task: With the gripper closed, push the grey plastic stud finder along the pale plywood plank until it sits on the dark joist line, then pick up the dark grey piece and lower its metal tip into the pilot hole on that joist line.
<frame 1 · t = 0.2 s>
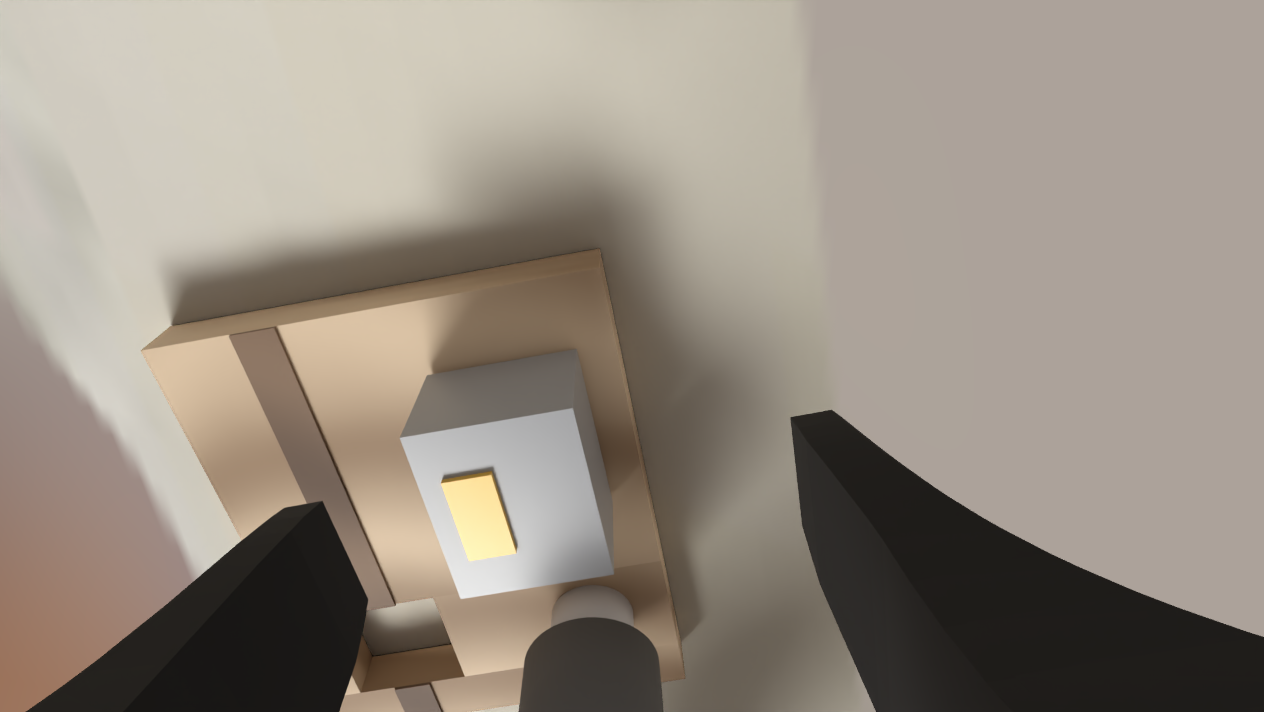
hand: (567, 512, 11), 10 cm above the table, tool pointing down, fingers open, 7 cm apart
stud finder: (518, 474, 19), point 3 cm above the table, slide at 0.0 cm
dark grey piece: (592, 615, 24), point 1 cm above the table, touching plank
plank: (459, 505, 24), on the table
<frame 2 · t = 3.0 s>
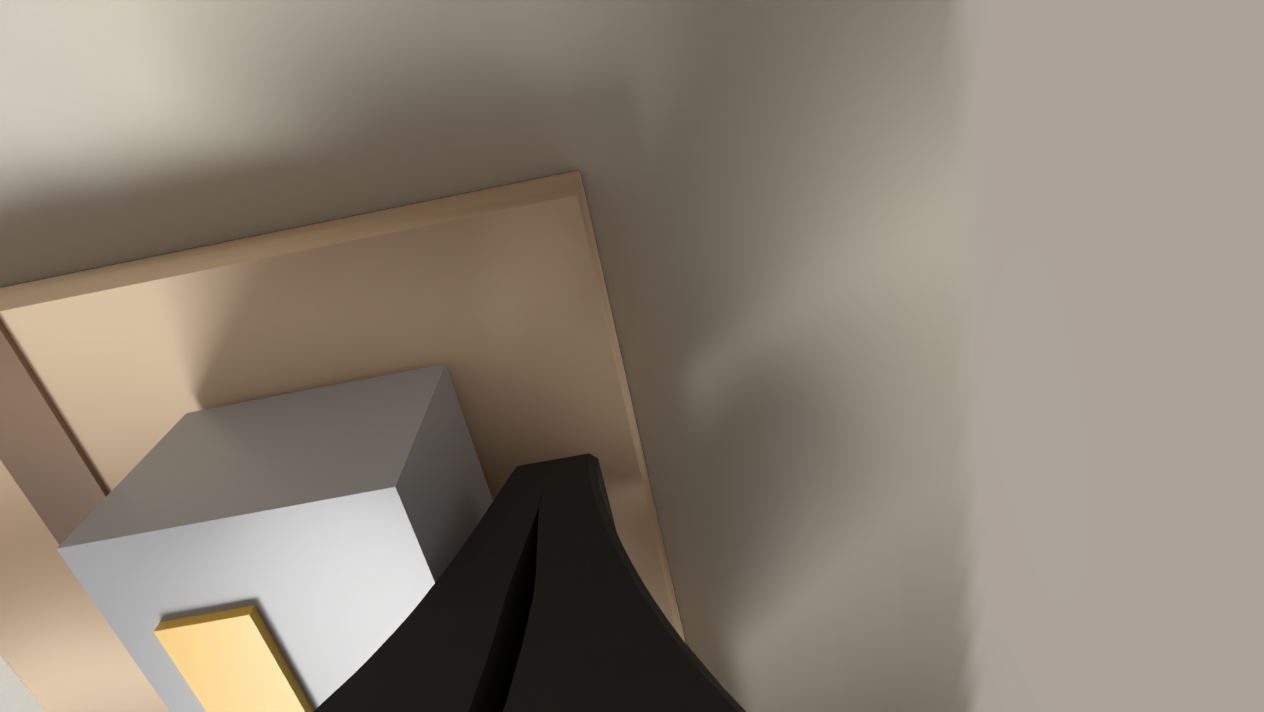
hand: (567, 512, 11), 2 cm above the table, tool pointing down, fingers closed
stud finder: (342, 590, 11), point 3 cm above the table, slide at 1.4 cm, touching gripper
plank: (371, 595, 15), on the table
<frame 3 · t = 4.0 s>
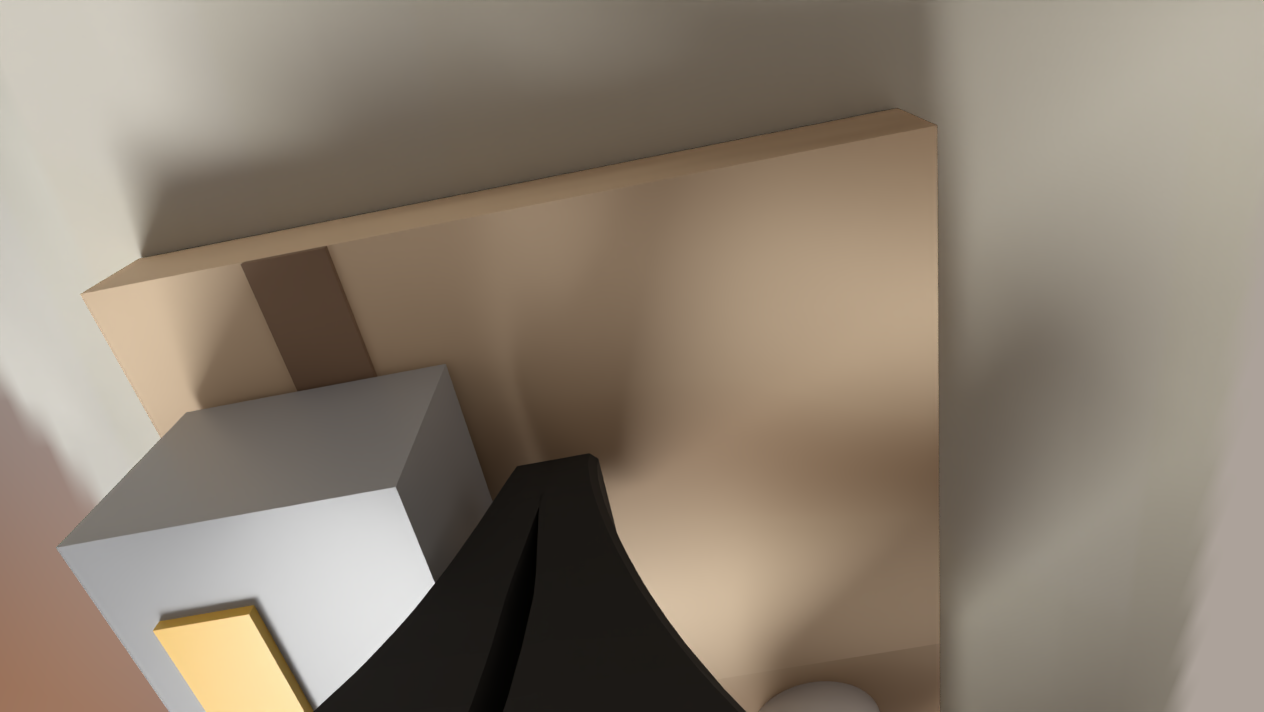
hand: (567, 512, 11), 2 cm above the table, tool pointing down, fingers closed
stud finder: (342, 589, 11), point 3 cm above the table, slide at 6.3 cm, touching gripper
plank: (605, 554, 15), on the table
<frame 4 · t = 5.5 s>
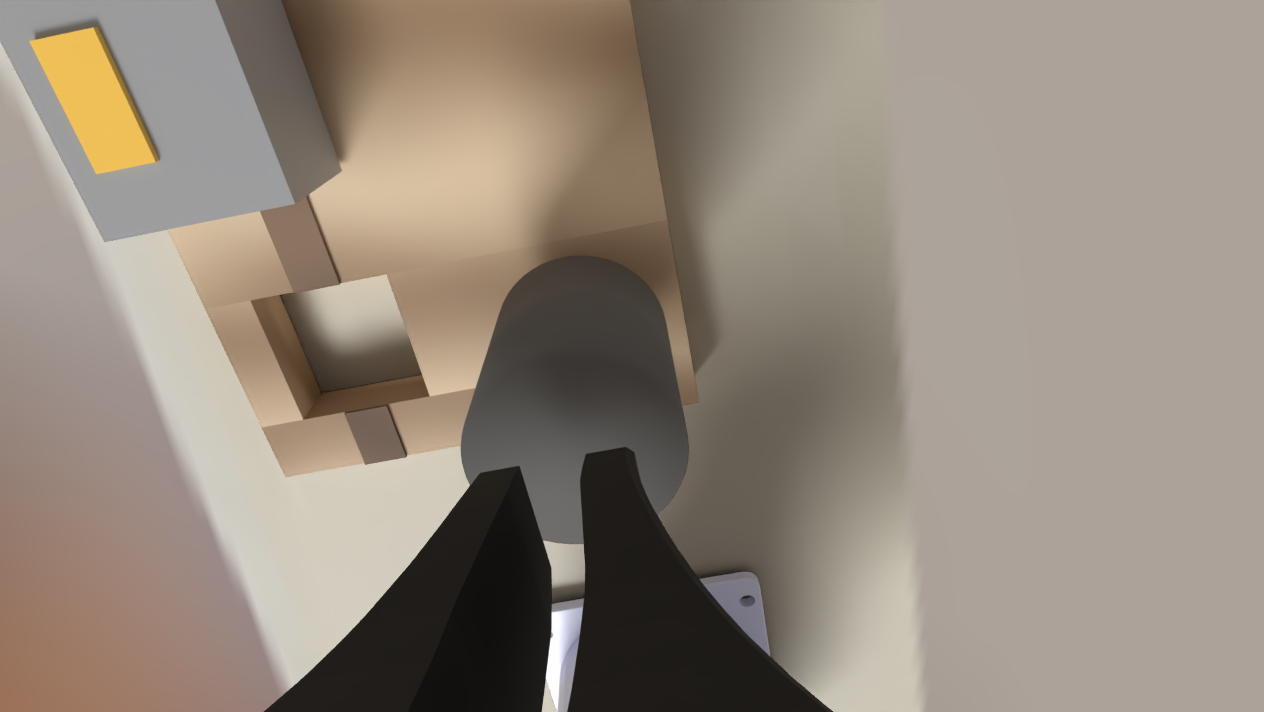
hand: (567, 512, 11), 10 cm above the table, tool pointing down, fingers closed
stud finder: (179, 85, 15), point 3 cm above the table, slide at 6.3 cm
dark grey piece: (584, 304, 20), point 1 cm above the table, touching plank
plank: (418, 165, 19), on the table
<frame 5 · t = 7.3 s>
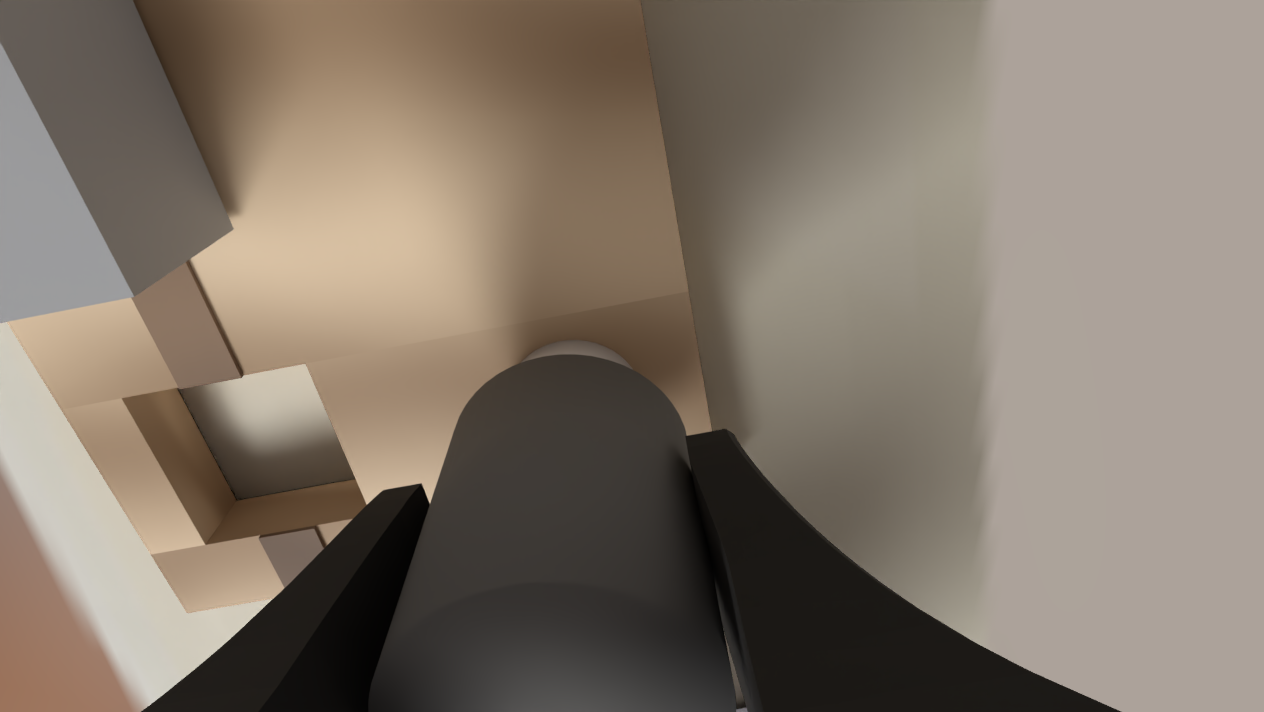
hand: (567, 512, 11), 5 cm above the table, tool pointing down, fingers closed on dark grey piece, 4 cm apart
dark grey piece: (574, 400, 15), point 2 cm above the table, touching gripper, plank
plank: (350, 214, 14), on the table
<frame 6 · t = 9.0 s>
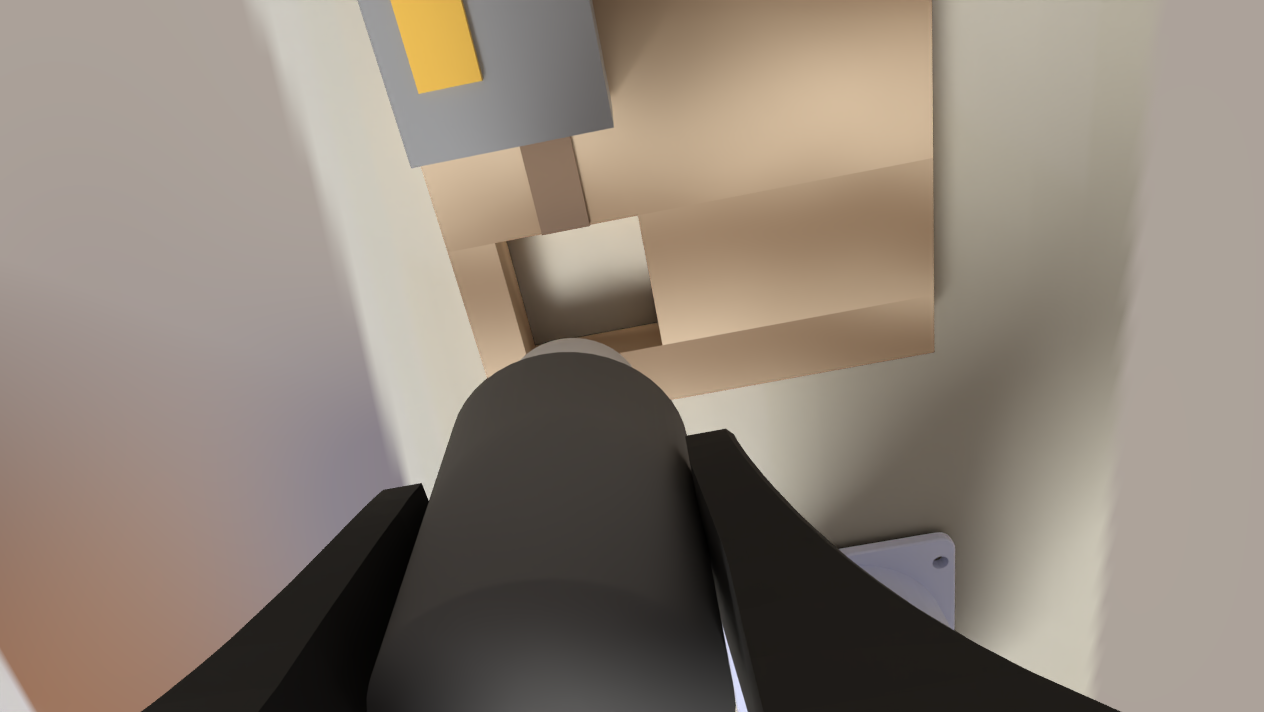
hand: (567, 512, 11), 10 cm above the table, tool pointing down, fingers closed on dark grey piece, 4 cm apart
stud finder: (486, 4, 15), point 3 cm above the table, slide at 6.3 cm
dark grey piece: (574, 399, 14), point 7 cm above the table, touching gripper
plank: (666, 104, 19), on the table
when the fingers open (4 cm above the table, at t = 10.8 s): dark grey piece stays where it is, resting in plank.
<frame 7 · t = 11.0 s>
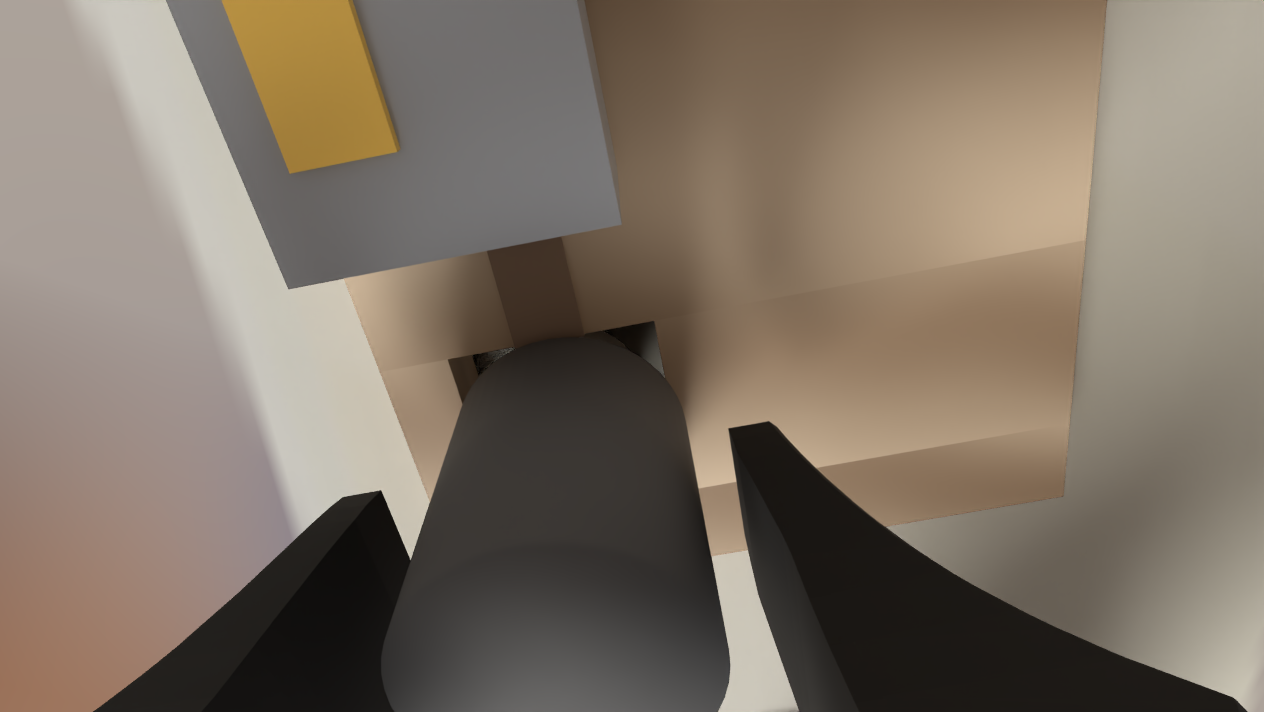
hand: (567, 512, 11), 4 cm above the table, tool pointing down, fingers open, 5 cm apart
stud finder: (413, 20, 9), point 3 cm above the table, slide at 6.3 cm
dark grey piece: (576, 385, 15), resting in plank
plank: (695, 158, 13), on the table
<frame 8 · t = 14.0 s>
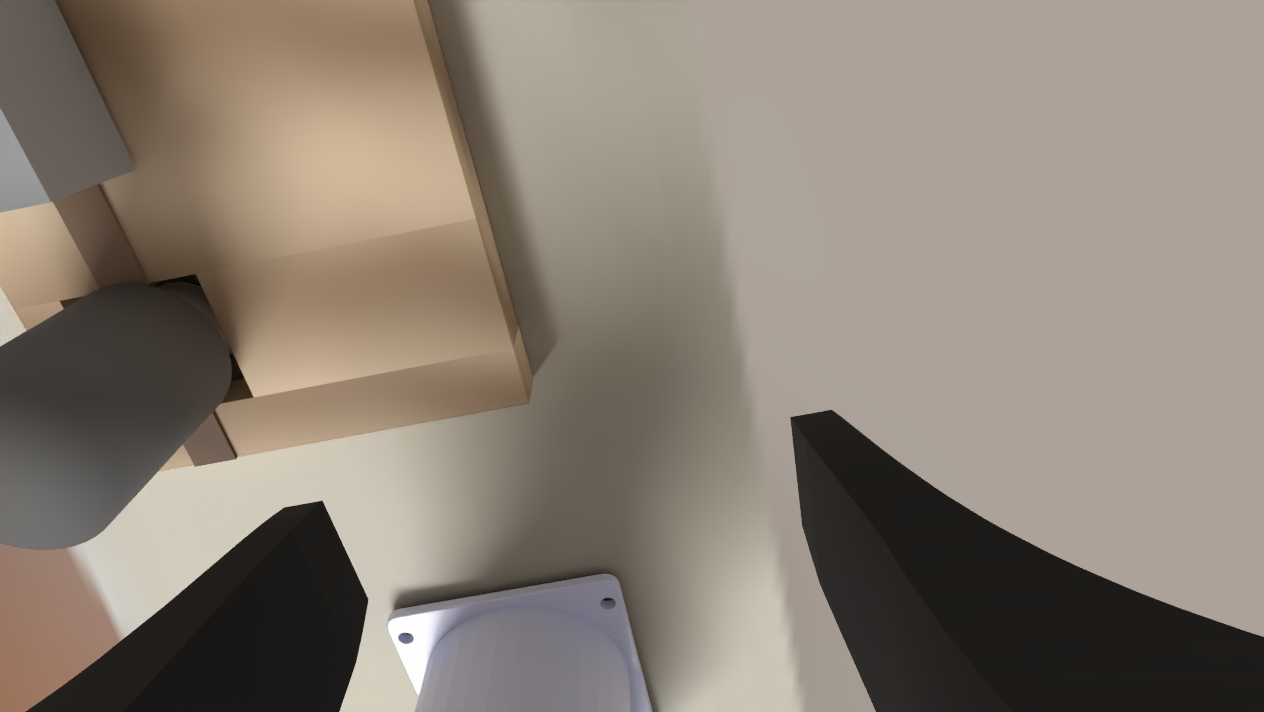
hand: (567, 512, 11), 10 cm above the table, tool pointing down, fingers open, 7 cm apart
dark grey piece: (188, 325, 21), resting in plank
plank: (231, 164, 19), on the table
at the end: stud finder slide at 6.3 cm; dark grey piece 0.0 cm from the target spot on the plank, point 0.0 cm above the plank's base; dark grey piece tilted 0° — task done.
